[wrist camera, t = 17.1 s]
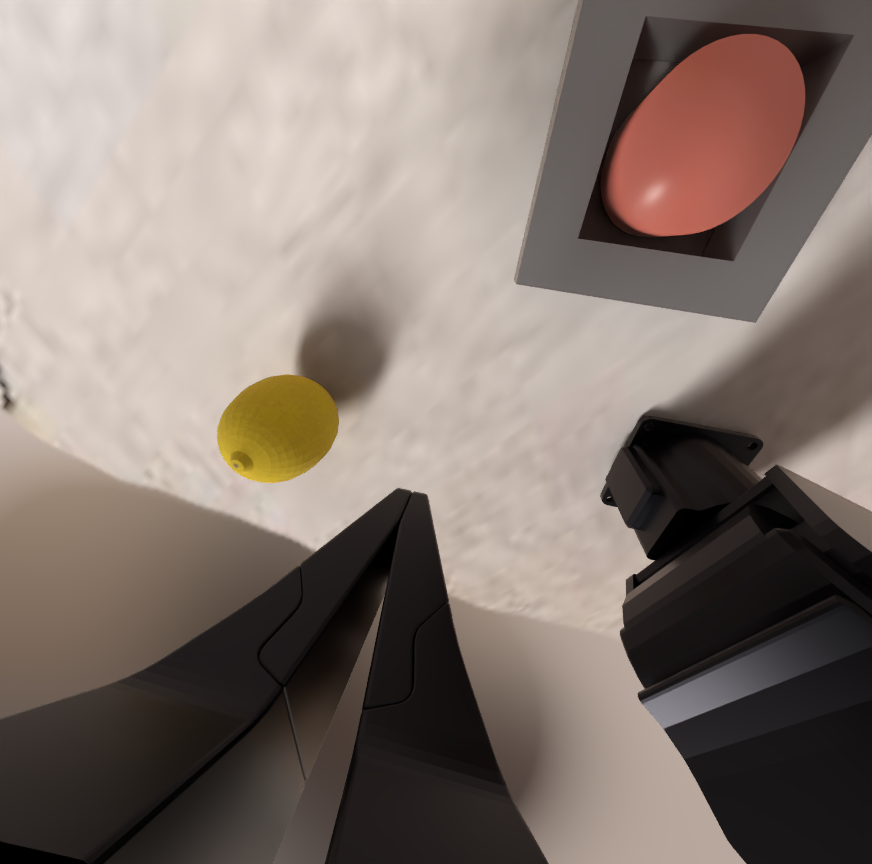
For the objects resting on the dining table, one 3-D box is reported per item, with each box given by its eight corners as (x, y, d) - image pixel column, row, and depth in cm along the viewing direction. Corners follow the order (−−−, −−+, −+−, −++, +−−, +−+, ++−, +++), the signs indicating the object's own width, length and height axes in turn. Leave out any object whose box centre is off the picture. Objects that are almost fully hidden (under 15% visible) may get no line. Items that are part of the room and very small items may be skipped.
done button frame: (897, -6, 11) (998, -72, 8) (720, 312, 16) (755, 322, 14) (586, -32, 11) (605, -96, 9) (513, 279, 16) (515, 284, 14)
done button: (773, 87, 12) (849, 42, 9) (698, 245, 14) (741, 244, 12) (631, 72, 12) (666, 25, 10) (583, 228, 15) (600, 224, 12)
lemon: (362, 373, 20) (293, 436, 14) (352, 443, 23) (290, 524, 16) (280, 347, 21) (169, 396, 14) (279, 420, 23) (188, 491, 17)
